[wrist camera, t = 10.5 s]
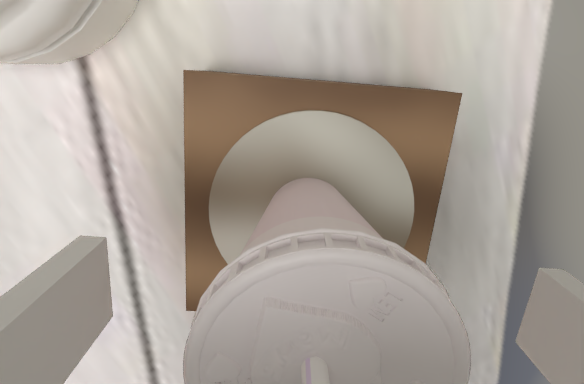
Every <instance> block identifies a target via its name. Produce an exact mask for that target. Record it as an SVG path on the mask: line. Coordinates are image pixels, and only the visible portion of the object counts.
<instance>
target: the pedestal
mask: <svg viewBox="0 0 584 384" xmlns="http://www.w3.org/2000/svg"><path fill="white" fill-rule="evenodd" d="M461 97H462V93H455V92H447V91H438V90H430V89H418V88H406V87H394V86H382V85H370V84H358V83H346V82H334V81H322V80H310V79H298V78H286V77H274V76H262V75H250V74H238V73H226V72H213V71H195V70H184V156H185V243H186V311H196V310H197V307H198V304H199V301H200V298H201V297H202V295H203V294H204V292H205V291H206V290H207V288H208V287H209V286H210V284H211V283H212V281H213V280H214V279H215V277H216V276H217V275H218V273H219V272H220V270H222V269H223V268H224V267H226V266H227V265H228V264H229V263H231V262H232V261H233V260H235V259H236V258H237V257H238V256H240V254H241V252H242V251H243V249H244V247H245V245H246V244H247V242H248V240H249V238H250V237H251V235H252V233H253V231H254V230H255V228H256V226H257V224H258V222H259V221H260V219H261V217H262V215H263V214H264V212H265V210H266V208H267V207H268V205H269V203H270V201H271V200H272V198H273V196H274V195H275V193H276V192H277V191H278V190H279V189H280V188H281V187H282V186H284V185H285V184H287V183H289V182H291V181H293V180H296V179H300V178H316V179H320V180H323V181H325V182H327V183H329V184H331V185H332V186H333V187H334V188H336V189H337V190H338V191H339V193H340V194H341V195H342V196H343V197H344V198H345V199H346V200H347V201H348V202H349V203H350V204H351V205H352V206H353V207H354V208H355V209H356V211H357V212H358V213H359V214H360V215H361V216H362V217H363V218H364V219H365V220H366V221H367V222H368V223H369V224H370V225H371V226H372V227H373V229H374V230H375V231H376V232H377V233H378V234H379V235H380V236H381V237H382V238H383V239H385V240H388V241H391V242H394V243H396V244H398V245H399V246H401V247H402V248H404V249H405V250H407V251H408V252H409V253H411V254H412V255H414V256H415V257H417V258H418V259H420V260H421V261H423V262H424V263H425V264H426V259H427V254H428V250H429V245H430V241H431V236H432V231H433V227H434V222H435V217H436V213H437V208H438V203H439V199H440V194H441V189H442V185H443V180H444V176H445V171H446V166H447V162H448V157H449V152H450V148H451V143H452V138H453V134H454V129H455V124H456V120H457V115H458V111H459V106H460V101H461Z"/></svg>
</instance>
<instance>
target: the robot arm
mask: <svg viewBox="0 0 584 384" xmlns="http://www.w3.org/2000/svg"><path fill="white" fill-rule="evenodd" d="M112 317H113V311H112V299H111V287H110V275H109V263H108V251H107V239H106V237H92V236H79V237H78V238H76V239H75V240H74V241H73V242H71V243H70V244H69V245H67V246H66V247H65V248H64V249H62V250H61V251H60V252H58V253H57V254H56V255H54V256H53V257H52V258H51V259H49V260H48V261H47V262H45V263H44V264H43V265H41V266H40V267H39V268H38V269H36V270H35V271H34V272H32V273H31V274H30V275H28V276H27V277H26V278H25V279H23V280H22V281H21V282H19V283H18V284H17V285H15V286H14V287H13V288H12V289H10V290H9V291H8V292H6V293H5V294H4V295H2V296H1V297H0V384H63V383H64V382H65V381H66V379H67V378H68V377H69V375H70V374H71V373H72V371H73V370H74V368H75V367H76V366H77V364H78V363H79V362H80V360H81V359H82V358H83V356H84V355H85V353H86V352H87V351H88V349H89V348H90V347H91V345H92V344H93V343H94V341H95V340H96V338H97V337H98V336H99V334H100V333H101V332H102V330H103V329H104V328H105V326H106V325H107V323H108V322H109V321H110V319H111V318H112ZM516 343H517V344H518V346H519V347H520V348H521V349H522V350H523V351H524V352H525V354H526V355H527V356H528V357H529V358H530V360H531V361H532V362H533V363H534V365H535V366H536V367H537V368H538V369H539V370H540V372H541V373H542V374H543V375H544V377H546V379H547V380H548V381H549V382H550V384H584V284H583V283H582V282H580V281H579V280H578V279H576V278H575V277H574V276H572V275H571V274H569V273H568V272H567V271H565V270H563V269H551V268H539V270H538V273H537V276H536V279H535V282H534V285H533V288H532V292H531V294H530V298H529V301H528V304H527V307H526V310H525V313H524V316H523V319H522V322H521V325H520V329H519V332H518V335H517V338H516Z"/></svg>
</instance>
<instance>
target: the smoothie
mask: <svg viewBox="0 0 584 384" xmlns="http://www.w3.org/2000/svg"><path fill="white" fill-rule="evenodd" d="M470 366H471V353H470V344H469V339H468V335H467V332H466V329H465V326H464V323H463V321H462V319H461V317H460V315H459V313H458V311H457V310H456V308H455V307H454V305H453V304H452V302H451V301H450V299H449V296H448V294H447V291H446V289H445V287H444V286H443V285H442V284H441V282H440V281H439V280H438V279H437V277H436V276H435V275H434V274H433V272H432V271H431V270H430V269H429V268H428V266H427V265H426V264H425V263H424V262H423V261H421V260H420V259H418V258H417V257H415V256H414V255H412V254H411V253H409V252H408V251H407V250H405V249H404V248H402V247H401V246H399V245H398V244H396V243H394V242H391V241H388V240H385V239H383V238H382V237H381V236H380V235H379V234H378V233H377V232H376V231H375V230H374V229H373V227H372V226H371V225H370V224H369V223H368V222H367V221H366V220H365V219H364V218H363V217H362V216H361V215H360V214H359V213H358V212H357V211H356V209H355V208H354V207H353V206H352V205H351V204H350V203H349V202H348V201H347V200H346V199H345V198H344V197H343V196H342V195H341V194H340V193H339V191H338V190H337V189H336V188H334V187H333V186H332V185H331V184H329V183H327V182H325V181H323V180H320V179H316V178H300V179H296V180H293V181H291V182H289V183H287V184H285V185H284V186H282V187H281V188H280V189H279V190H278V191H277V192H276V193H275V195H274V196H273V198H272V200H271V201H270V203H269V205H268V207H267V208H266V210H265V212H264V214H263V215H262V217H261V219H260V221H259V222H258V224H257V226H256V228H255V230H254V231H253V233H252V235H251V237H250V238H249V240H248V242H247V244H246V245H245V247H244V249H243V251H242V252H241V254H240V256H238V257H237V258H236V259H235V260H233V261H232V262H231V263H229V264H228V265H227V266H226V267H224V268H223V269H222V270H220V272H219V273H218V275H217V276H216V277H215V279H214V280H213V281H212V283H211V284H210V286H209V287H208V288H207V290H206V291H205V292H204V294H203V295H202V297H201V298H200V301H199V304H198V307H197V310H196V313H195V316H194V319H193V322H192V325H191V331H190V333H189V336H188V339H187V342H186V347H185V351H184V360H183V375H184V382H185V384H468V380H469V374H470Z"/></svg>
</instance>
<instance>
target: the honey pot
mask: <svg viewBox="0 0 584 384" xmlns="http://www.w3.org/2000/svg"><path fill="white" fill-rule="evenodd" d="M138 1H139V0H0V63H1V64H62V63H65V62H68V61H71V60H74V59H78V58H81V57H84V56H87V55H90V54H91V53H93V52H94V51H95V50H97V49H98V48H100V47H101V46H103V45H104V44H105V43H107V42H108V41H110V40H111V39H113V38H114V37H115V36H116V35H117V33H118V32H119V31H120V29H121V28H122V27H123V25H124V24H125V23H126V22H127V20H128V19H129V18H130V16H131V15H132V14H133V12H134V11H135V8H136V6H137V3H138Z"/></svg>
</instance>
